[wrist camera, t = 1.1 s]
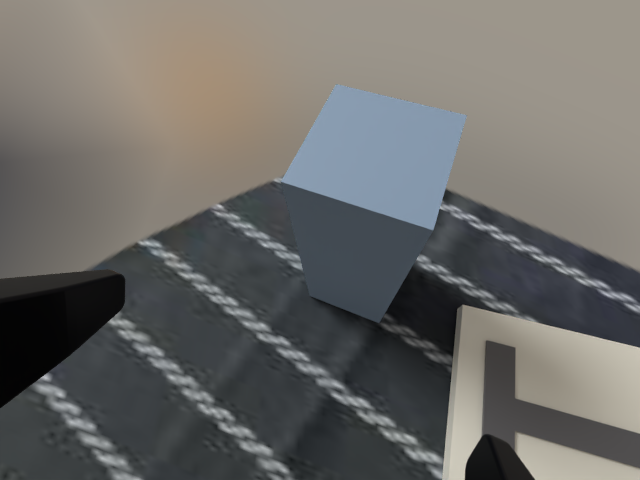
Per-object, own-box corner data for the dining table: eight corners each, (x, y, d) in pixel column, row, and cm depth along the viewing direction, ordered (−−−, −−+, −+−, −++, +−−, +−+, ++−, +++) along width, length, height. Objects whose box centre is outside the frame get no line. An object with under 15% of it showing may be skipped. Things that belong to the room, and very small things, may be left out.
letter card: (680, 594, 15) (707, 609, 14) (439, 510, 17) (446, 518, 15) (642, 354, 19) (660, 351, 18) (457, 308, 21) (463, 303, 20)
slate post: (379, 323, 21) (433, 230, 9) (309, 296, 22) (281, 181, 10) (400, 258, 23) (466, 115, 11) (335, 236, 24) (336, 84, 12)
